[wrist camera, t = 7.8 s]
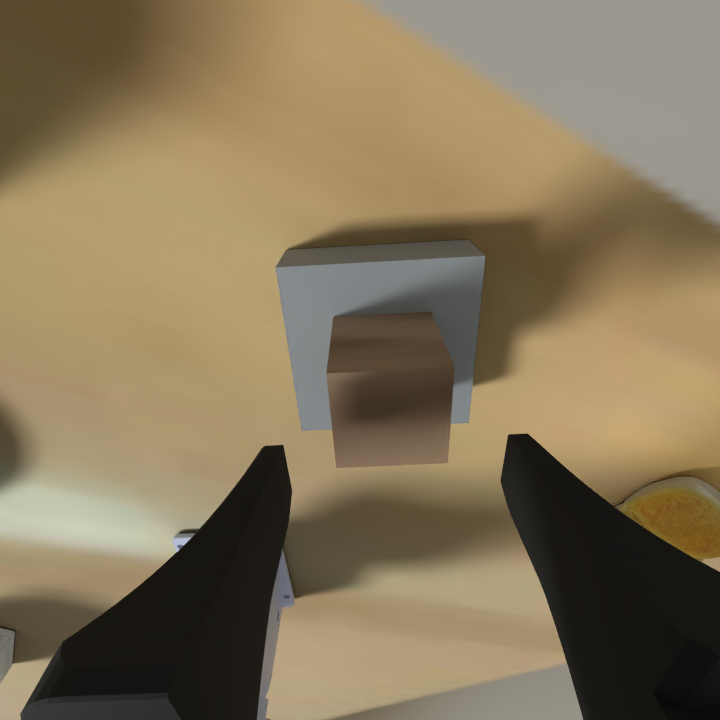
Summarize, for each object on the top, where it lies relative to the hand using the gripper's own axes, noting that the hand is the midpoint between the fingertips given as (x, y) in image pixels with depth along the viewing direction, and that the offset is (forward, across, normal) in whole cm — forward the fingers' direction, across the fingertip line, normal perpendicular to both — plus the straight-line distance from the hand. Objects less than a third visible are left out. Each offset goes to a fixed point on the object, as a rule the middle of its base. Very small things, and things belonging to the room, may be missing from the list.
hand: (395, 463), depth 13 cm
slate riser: (+10, 0, 0) cm, 10 cm away
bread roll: (+11, -20, +17) cm, 28 cm away
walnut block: (+7, 0, 0) cm, 7 cm away
